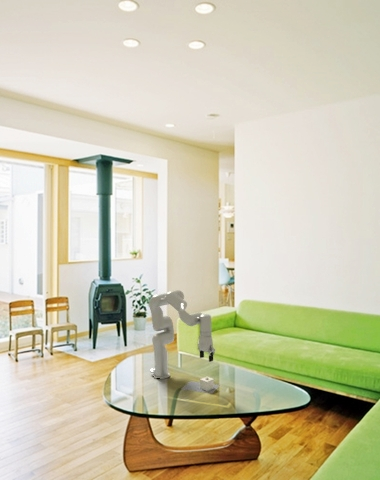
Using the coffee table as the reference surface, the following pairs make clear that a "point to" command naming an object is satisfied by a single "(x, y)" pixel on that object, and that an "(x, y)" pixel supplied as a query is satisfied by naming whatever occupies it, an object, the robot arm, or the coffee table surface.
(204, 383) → the white knobbed cube
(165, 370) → the robot arm
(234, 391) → the coffee table surface
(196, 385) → the board
